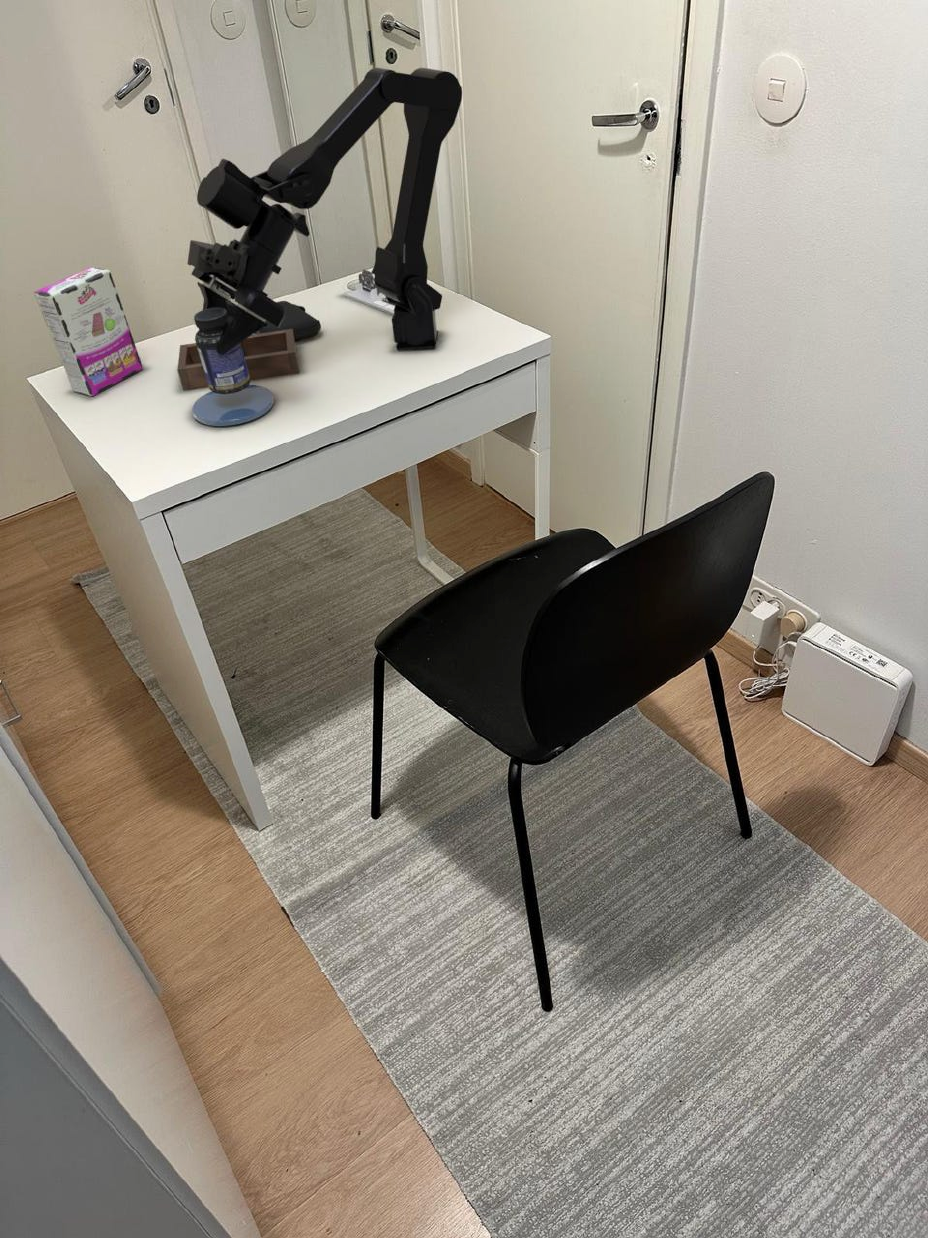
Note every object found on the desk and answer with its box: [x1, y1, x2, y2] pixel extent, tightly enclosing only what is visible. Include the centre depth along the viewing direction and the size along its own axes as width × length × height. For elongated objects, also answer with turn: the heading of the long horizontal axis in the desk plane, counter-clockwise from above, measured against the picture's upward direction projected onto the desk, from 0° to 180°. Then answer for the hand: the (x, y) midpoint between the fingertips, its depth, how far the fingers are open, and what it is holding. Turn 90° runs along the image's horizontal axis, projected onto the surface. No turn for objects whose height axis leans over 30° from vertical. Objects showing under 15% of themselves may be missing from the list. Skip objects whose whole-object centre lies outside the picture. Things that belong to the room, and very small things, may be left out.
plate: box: [192, 383, 275, 427], centre depth 135 cm, size 12×12×1 cm
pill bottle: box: [193, 308, 251, 394], centre depth 129 cm, size 6×6×11 cm
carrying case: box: [255, 300, 322, 344], centre depth 156 cm, size 11×3×15 cm
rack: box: [176, 329, 301, 391], centre depth 145 cm, size 18×10×4 cm, turn 101°
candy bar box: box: [33, 266, 144, 397], centre depth 141 cm, size 11×5×16 cm, turn 148°
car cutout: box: [344, 269, 395, 316], centre depth 163 cm, size 15×7×4 cm, turn 42°
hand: (210, 346), depth 128 cm, fingers closed on pill bottle, 6 cm apart
